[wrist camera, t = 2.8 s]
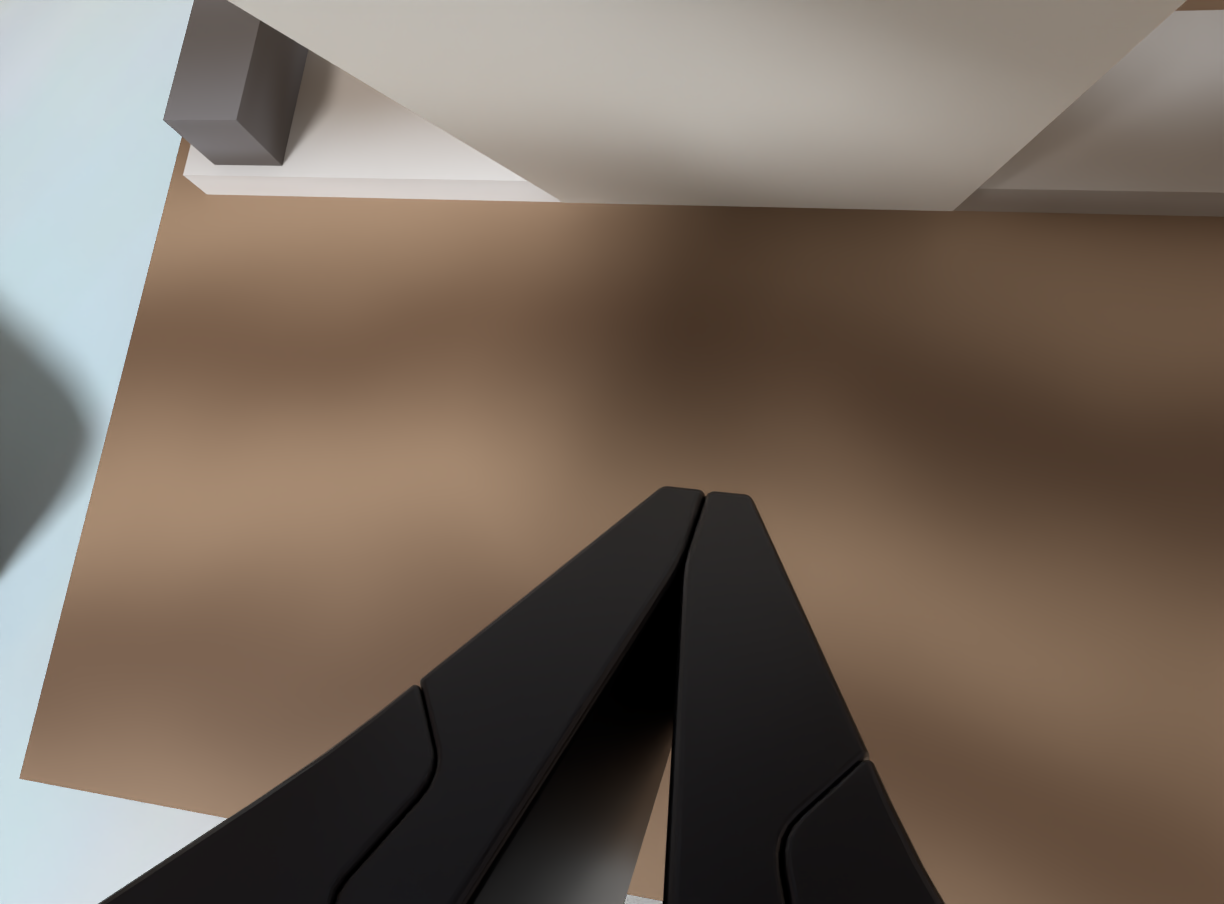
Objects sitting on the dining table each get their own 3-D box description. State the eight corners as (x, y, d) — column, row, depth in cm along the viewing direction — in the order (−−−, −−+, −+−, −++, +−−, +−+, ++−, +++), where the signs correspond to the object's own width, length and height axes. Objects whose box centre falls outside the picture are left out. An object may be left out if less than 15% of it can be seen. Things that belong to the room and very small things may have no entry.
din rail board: (1579, 1051, 13) (1883, 1200, 9) (67, 770, 18) (-102, 798, 14) (1476, -13, 16) (1665, -194, 13) (250, 18, 22) (150, -103, 18)
